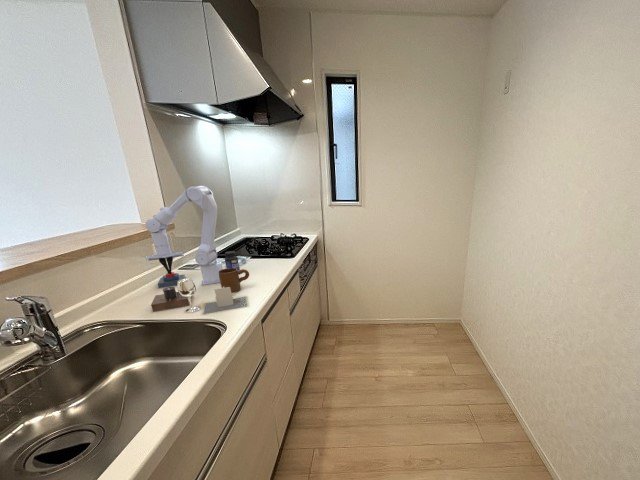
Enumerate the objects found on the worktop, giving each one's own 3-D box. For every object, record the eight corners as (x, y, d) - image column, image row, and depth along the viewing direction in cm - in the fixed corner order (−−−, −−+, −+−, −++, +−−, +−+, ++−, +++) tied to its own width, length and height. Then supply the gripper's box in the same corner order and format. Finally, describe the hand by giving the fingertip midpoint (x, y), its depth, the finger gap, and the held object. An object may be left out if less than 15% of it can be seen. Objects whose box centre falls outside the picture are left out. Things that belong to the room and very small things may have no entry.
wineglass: (188, 307, 123) (180, 278, 118) (203, 306, 123) (196, 277, 119) (180, 313, 117) (172, 283, 113) (196, 312, 118) (188, 282, 113)
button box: (185, 278, 156) (183, 270, 155) (184, 284, 148) (181, 276, 146) (161, 281, 152) (159, 274, 150) (158, 288, 143) (156, 280, 142)
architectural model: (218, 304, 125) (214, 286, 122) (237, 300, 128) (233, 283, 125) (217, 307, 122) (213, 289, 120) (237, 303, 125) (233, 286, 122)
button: (175, 275, 151) (174, 271, 150) (175, 277, 148) (174, 273, 147) (166, 276, 149) (165, 272, 149) (166, 278, 146) (164, 274, 146)
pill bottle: (235, 274, 160) (231, 253, 156) (224, 274, 161) (220, 253, 157) (242, 271, 166) (238, 250, 162) (232, 270, 167) (228, 250, 163)
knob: (166, 296, 126) (163, 287, 124) (177, 294, 127) (175, 285, 126) (164, 299, 123) (161, 290, 121) (176, 297, 124) (173, 288, 123)
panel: (191, 296, 133) (189, 289, 132) (189, 305, 124) (187, 298, 123) (157, 302, 128) (155, 294, 127) (153, 311, 119) (150, 304, 118)
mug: (252, 285, 145) (248, 266, 142) (251, 290, 138) (247, 270, 135) (223, 289, 141) (219, 269, 138) (221, 294, 134) (216, 274, 131)
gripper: (142, 249, 136) (151, 278, 141) (181, 244, 144) (188, 272, 149) (142, 246, 141) (151, 274, 146) (180, 241, 149) (187, 268, 154)
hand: (169, 273), depth 148 cm, fingers closed, pressing on button
